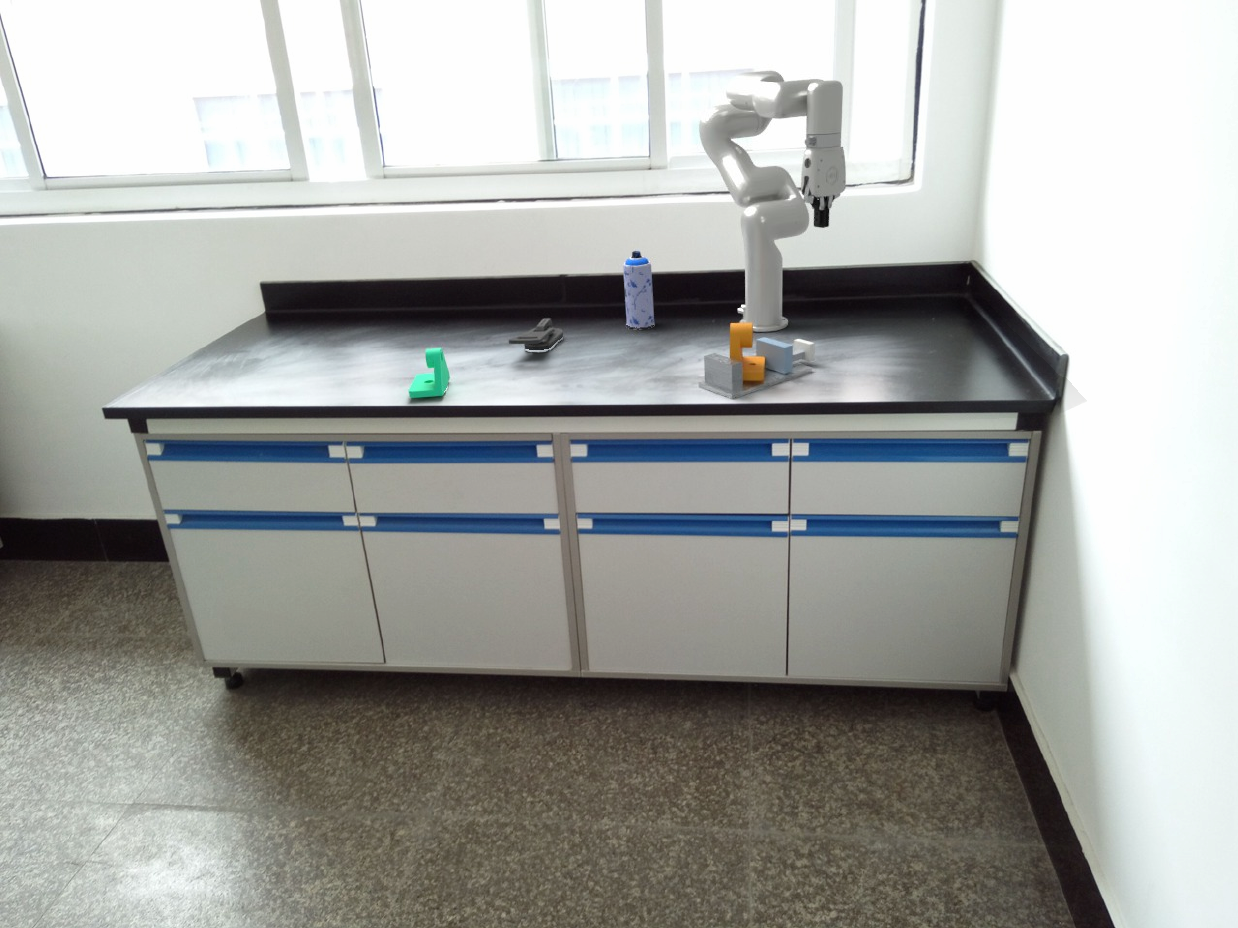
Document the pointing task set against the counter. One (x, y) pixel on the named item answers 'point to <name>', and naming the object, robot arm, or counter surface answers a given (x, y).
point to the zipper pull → (539, 336)
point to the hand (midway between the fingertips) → (821, 226)
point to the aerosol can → (638, 291)
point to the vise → (741, 376)
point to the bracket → (742, 339)
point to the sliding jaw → (783, 353)
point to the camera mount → (431, 376)
